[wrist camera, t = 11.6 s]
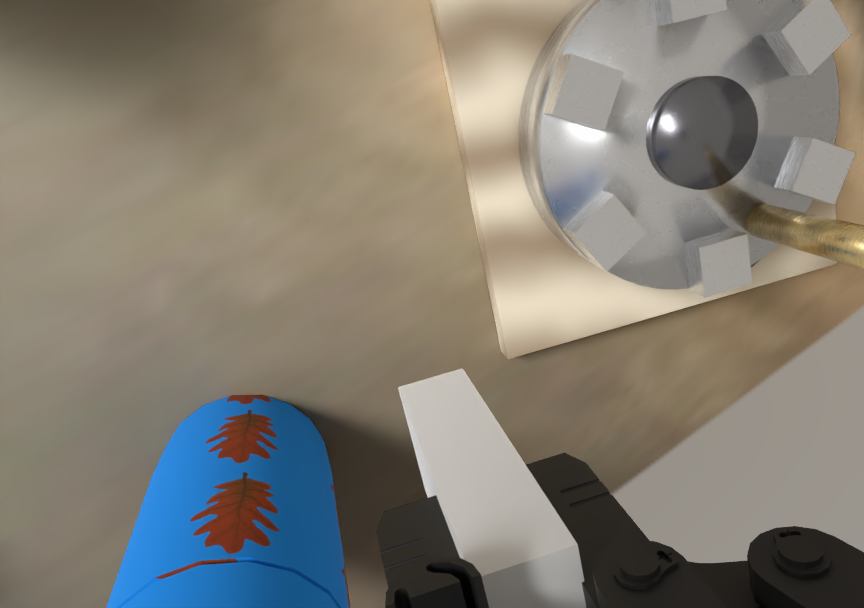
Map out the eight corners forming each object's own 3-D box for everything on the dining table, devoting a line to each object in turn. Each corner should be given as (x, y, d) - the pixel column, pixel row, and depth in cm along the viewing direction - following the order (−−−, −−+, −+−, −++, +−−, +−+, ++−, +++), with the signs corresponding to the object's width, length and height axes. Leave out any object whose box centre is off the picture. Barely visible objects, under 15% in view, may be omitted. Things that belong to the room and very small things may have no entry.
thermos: (333, 390, 45) (386, 704, 22) (330, 535, 48) (373, 951, 25) (154, 394, 43) (0, 749, 20) (162, 546, 46) (35, 1013, 23)
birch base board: (422, -37, 39) (428, -43, 38) (805, -120, 42) (827, -129, 41) (501, 351, 47) (509, 360, 45) (821, 258, 50) (840, 264, 48)
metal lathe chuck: (456, 126, 41) (538, 140, 27) (685, -105, 39) (886, -206, 26) (637, 328, 47) (777, 420, 33) (841, 132, 46) (1068, 148, 32)
